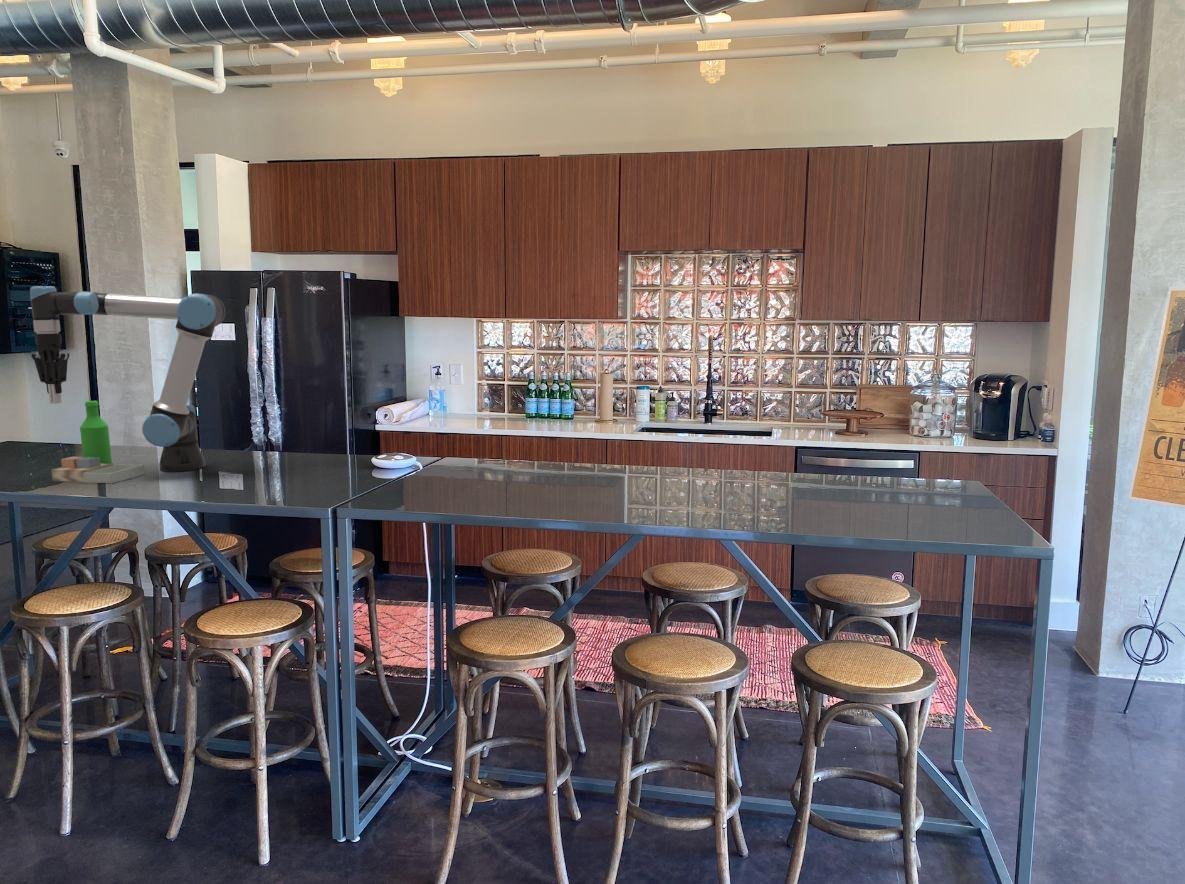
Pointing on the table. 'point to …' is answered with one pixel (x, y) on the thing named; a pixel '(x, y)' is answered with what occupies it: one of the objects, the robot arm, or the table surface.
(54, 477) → the bench plate
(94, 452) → the bottle
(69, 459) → the tile terracotta
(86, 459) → the tile slate
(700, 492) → the table surface
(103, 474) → the box
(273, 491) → the table surface
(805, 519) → the table surface
